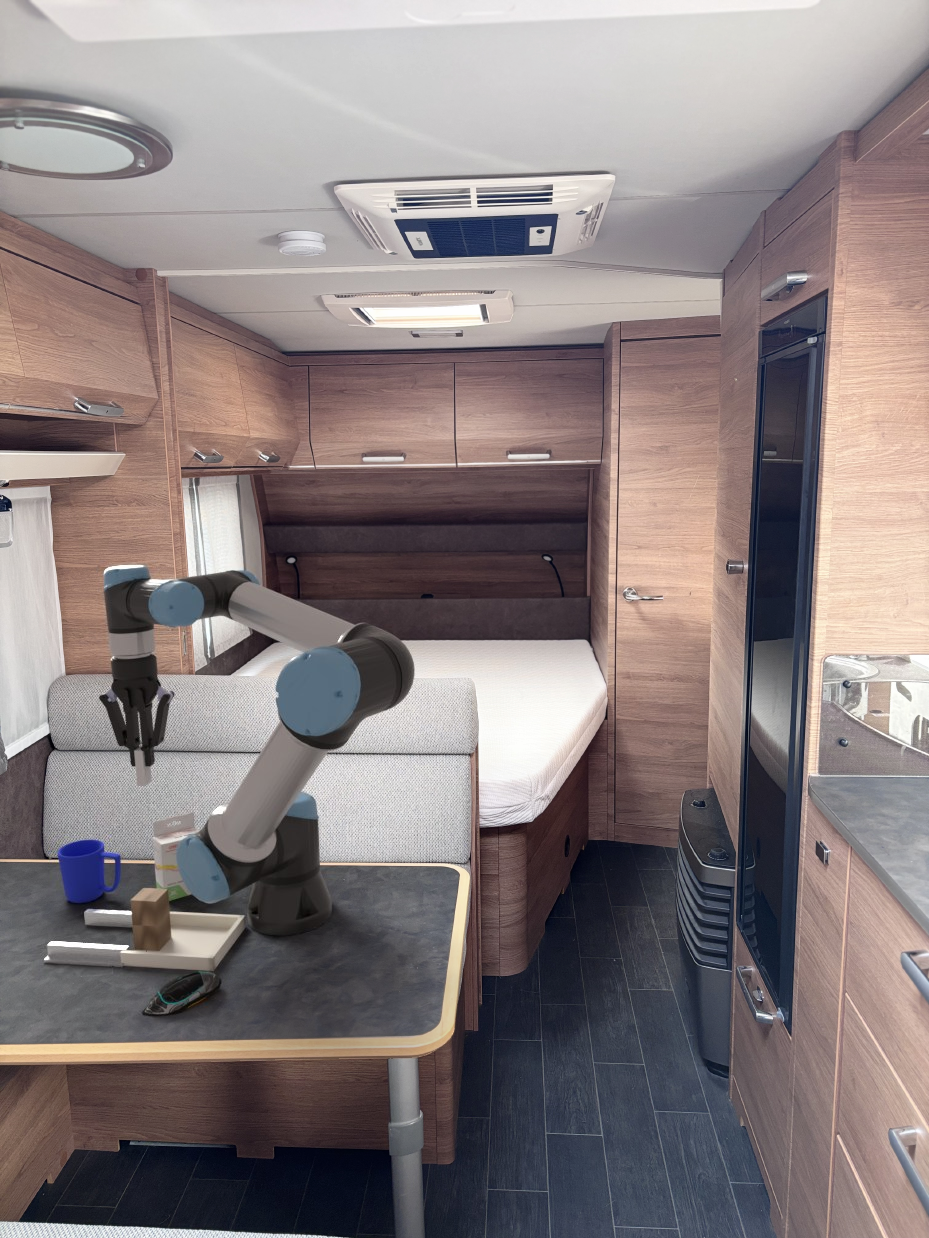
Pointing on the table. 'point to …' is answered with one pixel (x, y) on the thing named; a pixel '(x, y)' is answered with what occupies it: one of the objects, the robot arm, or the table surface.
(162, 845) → the ink box
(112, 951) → the slot rails
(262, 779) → the robot arm
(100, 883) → the mug
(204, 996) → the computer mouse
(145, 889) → the brown shipping carton
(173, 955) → the tray
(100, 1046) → the table surface
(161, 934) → the tan cardboard cube
